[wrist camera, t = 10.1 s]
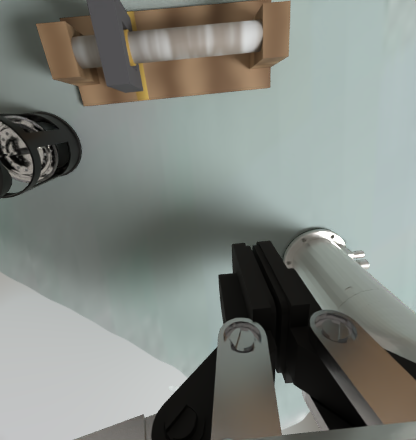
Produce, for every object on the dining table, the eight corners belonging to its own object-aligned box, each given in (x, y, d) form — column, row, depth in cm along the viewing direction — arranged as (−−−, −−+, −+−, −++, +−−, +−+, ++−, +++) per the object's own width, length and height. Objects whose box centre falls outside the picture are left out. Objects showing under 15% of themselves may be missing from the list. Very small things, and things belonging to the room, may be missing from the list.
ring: (130, 18, 29) (110, -15, 22) (143, 91, 33) (130, 83, 25) (110, 19, 29) (83, -13, 22) (125, 92, 32) (106, 85, 25)
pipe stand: (269, 1, 31) (292, -32, 24) (268, 87, 35) (288, 80, 28) (62, 20, 31) (24, -9, 23) (86, 106, 35) (59, 103, 28)
